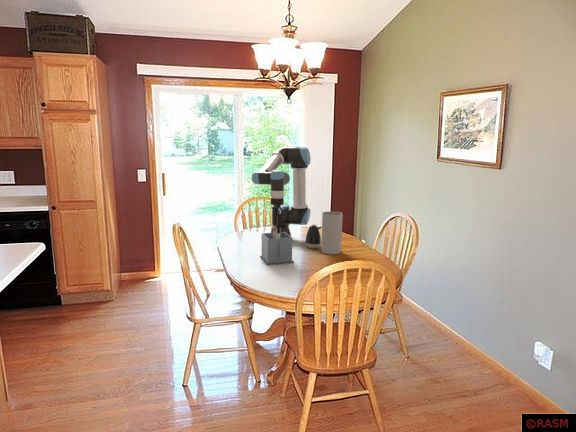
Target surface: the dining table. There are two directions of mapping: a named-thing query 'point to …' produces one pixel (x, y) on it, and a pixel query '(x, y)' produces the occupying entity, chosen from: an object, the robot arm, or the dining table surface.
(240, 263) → the dining table surface
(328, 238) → the cylinder vase
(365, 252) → the dining table surface
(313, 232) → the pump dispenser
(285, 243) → the grey open bin
